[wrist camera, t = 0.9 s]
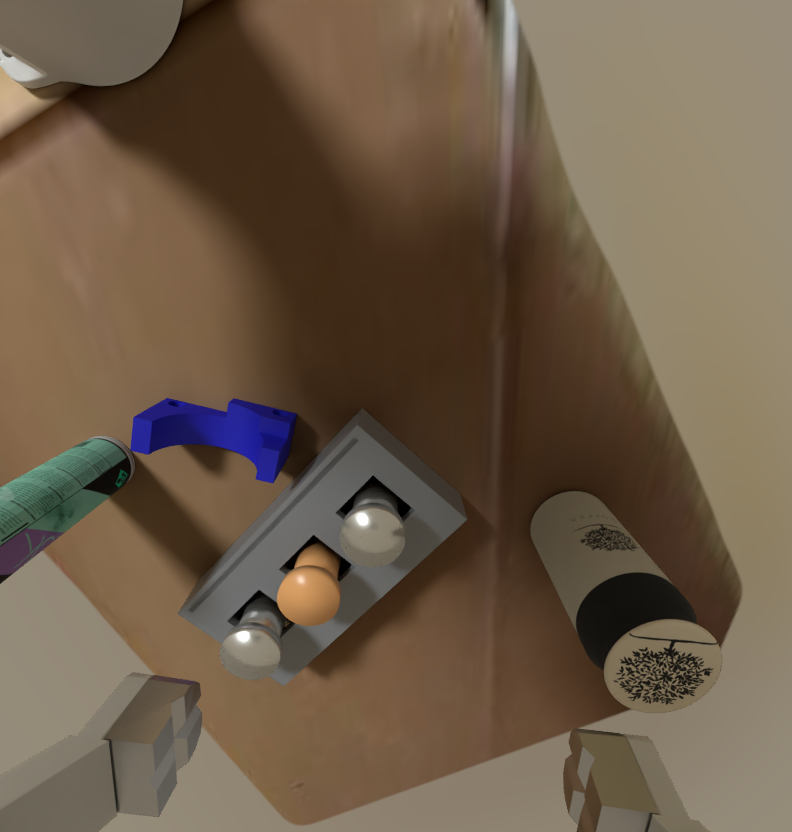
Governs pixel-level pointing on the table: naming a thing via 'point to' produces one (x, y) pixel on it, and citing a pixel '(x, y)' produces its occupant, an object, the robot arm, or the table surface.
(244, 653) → the far knob
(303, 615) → the orange knob
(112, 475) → the spray can
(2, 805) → the robot arm
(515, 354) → the table surface
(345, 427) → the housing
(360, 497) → the near knob
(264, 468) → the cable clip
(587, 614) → the travel mug
